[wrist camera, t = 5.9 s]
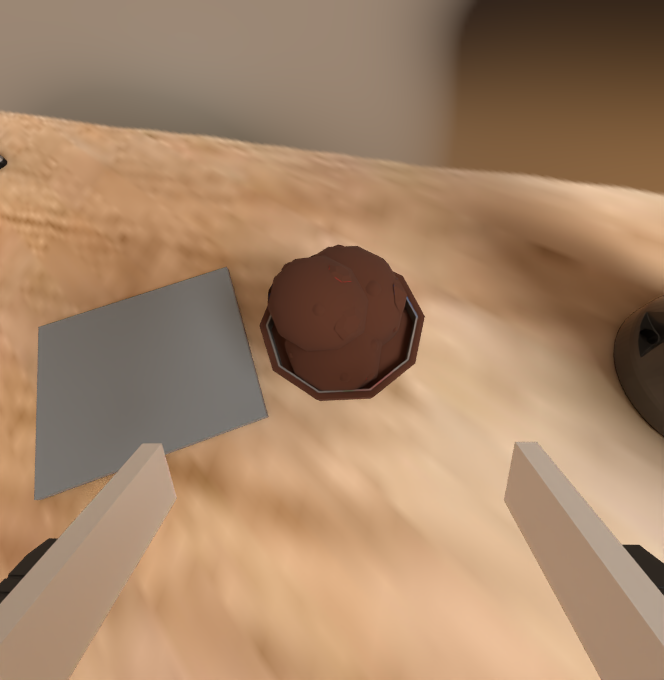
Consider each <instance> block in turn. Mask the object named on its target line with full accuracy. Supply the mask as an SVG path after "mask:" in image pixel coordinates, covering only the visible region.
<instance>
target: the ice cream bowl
mask: <svg viewBox="0 0 664 680" xmlns="http://www.w3.org/2000/svg"><path fill="white" fill-rule="evenodd" d="M424 317H425V316H424V314H423V312H422V310H421V309H420V307H419V305H418V303H417V301H416V300H415V298H414V296H413V294H412V292H411V290H410V289H409V287H408V285H407V283H406V281H405V279H404V278H403V276H401V275H399V274H397V273H395V272H393V271H392V269H391V268H390V266H389V264H388V263H387V262H386V261H385V260H384V259H383V258H381V257H379V256H377V255H375V254H373V253H371V252H368V251H366V250H364V249H362V248H360V247H358V246H346V247H344V246H342V245H336V246H334V247H327V248H326V249H324V250H323V251H321V252H320V253H318V254H316V255H313V256H311V257H309V258H301V259H295V260H293V261H292V262H289V263H287V264H285V265H284V266H283V268H282V271H281V272H280V273H279V274H278V275H277V276H275V277H274V280H273V284H272V286H271V287H270V289H269V292H268V306H267V309H266V311H265V314H264V316H263V318H262V321H261V323H260V329H261V332H262V335H263V339H264V342H265V345H266V349H267V352H268V355H269V359H270V362H271V365H272V369H273V371H275V372H276V373H278V374H279V375H281V376H282V377H284V378H285V379H287V380H288V381H290V382H291V383H293V384H294V385H296V386H297V387H299V388H300V389H302V390H303V391H305V392H306V393H308V394H309V395H311V396H312V397H314V398H315V399H317V400H319V401H327V400H349V399H370V398H372V397H374V396H375V395H376V394H378V393H379V392H380V391H381V390H383V389H384V388H385V387H386V386H388V385H389V384H390V383H391V382H392V381H394V380H395V379H396V378H397V377H399V376H400V375H401V374H402V373H404V372H405V371H406V370H407V369H409V368H410V367H411V366H412V365H414V364H415V361H416V356H417V351H418V346H419V342H420V337H421V332H422V327H423V322H424Z"/></svg>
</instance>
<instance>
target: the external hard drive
mask: <svg viewBox="0 0 664 680" xmlns="http://www.w3.org/2000/svg"><path fill="white" fill-rule="evenodd" d="M6 164H7V161H6V160H5V159H4V158H3V157H2V156H1V155H0V169H1V168H3V167H4V166H5V165H6Z"/></svg>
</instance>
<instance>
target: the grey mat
mask: <svg viewBox="0 0 664 680" xmlns="http://www.w3.org/2000/svg"><path fill="white" fill-rule="evenodd" d="M267 417H268V414H267V410H266V406H265V403H264V399H263V395H262V392H261V388H260V384H259V381H258V377H257V373H256V370H255V366H254V362H253V358H252V355H251V351H250V347H249V344H248V340H247V336H246V333H245V329H244V325H243V322H242V318H241V314H240V311H239V307H238V303H237V300H236V296H235V292H234V288H233V285H232V281H231V277H230V274H229V270H228V268H227V267H225V268H221V269H218V270H215V271H212V272H209V273H206V274H203V275H200V276H197V277H193V278H190V279H187V280H184V281H181V282H178V283H175V284H172V285H168V286H165V287H162V288H159V289H156V290H153V291H150V292H147V293H144V294H140V295H137V296H134V297H131V298H128V299H125V300H122V301H119V302H116V303H112V304H109V305H106V306H103V307H100V308H97V309H94V310H91V311H88V312H84V313H81V314H78V315H75V316H72V317H69V318H66V319H63V320H60V321H56V322H53V323H50V324H47V325H44V326H41V327H39V333H38V373H37V413H36V453H35V493H34V500H42V499H44V498H47V497H50V496H53V495H55V494H58V493H61V492H64V491H66V490H69V489H72V488H75V487H77V486H80V485H83V484H86V483H88V482H91V481H94V480H97V479H99V478H102V477H105V476H108V475H110V474H113V473H116V472H118V471H119V469H120V468H121V467H122V466H123V465H124V464H125V463H126V462H127V460H128V459H129V458H130V457H131V456H132V455H133V454H134V452H135V451H136V450H137V449H138V448H139V447H140V446H141V445H142V443H162V446H163V449H164V453H165V454H168V453H171V452H174V451H176V450H179V449H182V448H185V447H187V446H190V445H193V444H196V443H198V442H201V441H204V440H207V439H209V438H212V437H215V436H218V435H220V434H223V433H226V432H229V431H231V430H234V429H237V428H240V427H242V426H245V425H248V424H251V423H253V422H256V421H259V420H261V419H264V418H267Z"/></svg>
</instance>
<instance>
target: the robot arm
mask: <svg viewBox="0 0 664 680" xmlns="http://www.w3.org/2000/svg"><path fill="white" fill-rule="evenodd" d="M614 360H615V366H616V371H617V374H618V377H619V380H620V382H621V385H622V387H623V389H624V391H625V393H626V394H627V396H628V398H629V399H630V401H631V402H632V404H633V405H634V407H635V408H636V409H637V410H638V412H639V413H640V414H641V415H642V416H643V417H644V419H645V420H646V421H647V422H648V423H649V424H650V425H651V426H652V427H653V428H655V429H656V430H657V431H658V432H659V433H660V434H662V435H663V436H664V295H663V296H661V297H659V298H657V299H655V300H653V301H652V302H650V303H648V304H647V305H645V306H643V307H642V308H640V309H639V310H637V311H636V312H634V313H633V314H631V315H630V316H629V317H628V318H627V319H626V320H625V322H624V323H623V324H622V326H621V327H620V329H619V331H618V334H617V336H616V340H615V346H614ZM176 499H177V497H176V493H175V490H174V486H173V482H172V479H171V475H170V471H169V468H168V464H167V460H166V457H165V453H164V449H163V446H162V443H142V445H141V446H140V447H139V448H138V449H137V450H136V451H135V452H134V454H133V455H132V456H131V457H130V458H129V459H128V460H127V462H126V463H125V464H124V465H123V466H122V467H121V468H120V469H119V471H118V472H117V473H116V474H115V475H114V476H113V477H112V478H111V480H110V481H109V482H108V483H107V484H106V485H105V486H104V487H103V489H102V490H101V491H100V492H99V493H98V494H97V495H96V496H95V498H94V499H93V500H92V501H91V502H90V503H89V504H88V505H87V507H86V508H85V509H84V510H83V511H82V512H81V513H80V514H79V516H78V517H77V518H76V519H75V520H74V521H73V522H72V523H71V525H70V526H69V527H68V528H67V529H66V530H65V531H64V533H63V534H62V535H61V536H60V537H59V538H58V539H52V538H49V539H48V540H46V541H45V542H44V543H42V544H41V545H40V546H38V547H37V548H36V549H34V550H33V551H32V552H30V553H29V554H27V555H26V556H25V557H24V559H23V560H22V561H21V562H20V563H19V564H18V565H17V566H16V567H15V568H14V569H13V570H12V571H11V572H10V573H9V575H8V578H7V579H4V580H3V581H2V582H1V583H0V680H69V678H70V676H71V675H72V673H73V671H74V670H75V668H76V666H77V665H78V663H79V661H80V660H81V658H82V656H83V655H84V653H85V651H86V650H87V648H88V646H89V645H90V643H91V641H92V640H93V638H94V636H95V634H96V633H97V631H98V629H99V628H100V626H101V624H102V623H103V621H104V619H105V618H106V616H107V614H108V613H109V611H110V609H111V608H112V606H113V604H114V603H115V601H116V599H117V598H118V596H119V594H120V593H121V591H122V589H123V588H124V586H125V584H126V583H127V581H128V579H129V578H130V576H131V574H132V573H133V571H134V569H135V568H136V566H137V564H138V563H139V561H140V559H141V557H142V556H143V554H144V552H145V551H146V549H147V547H148V546H149V544H150V542H151V541H152V539H153V537H154V536H155V534H156V532H157V531H158V529H159V527H160V526H161V524H162V522H163V521H164V519H165V517H166V516H167V514H168V512H169V511H170V509H171V507H172V506H173V504H174V502H175V501H176ZM504 501H505V503H506V505H507V507H508V509H509V510H510V512H511V514H512V516H513V518H514V520H515V521H516V523H517V525H518V527H519V529H520V531H521V532H522V534H523V536H524V538H525V540H526V542H527V544H528V545H529V547H530V549H531V551H532V553H533V555H534V556H535V558H536V560H537V562H538V564H539V566H540V568H541V569H542V571H543V573H544V575H545V577H546V579H547V580H548V582H549V584H550V586H551V588H552V590H553V592H554V593H555V595H556V597H557V599H558V601H559V603H560V604H561V606H562V608H563V610H564V612H565V614H566V616H567V617H568V619H569V621H570V623H571V625H572V627H573V628H574V630H575V632H576V634H577V636H578V638H579V640H580V641H581V643H582V645H583V647H584V649H585V651H586V652H587V654H588V656H589V658H590V660H591V662H592V663H593V665H594V667H595V669H596V671H597V673H598V675H599V676H600V678H601V680H664V563H662V562H661V561H660V560H658V559H657V558H656V557H654V556H653V555H652V554H650V553H649V552H648V551H646V550H645V549H644V548H643V547H641V546H640V545H622V544H621V543H620V542H619V541H618V540H617V538H616V537H615V536H614V535H613V533H612V532H611V531H610V530H609V529H608V527H607V526H606V525H605V524H604V523H603V521H602V520H601V519H600V518H599V516H598V515H597V514H596V513H595V512H594V510H593V509H592V508H591V507H590V506H589V504H588V503H587V502H586V501H585V499H584V498H583V497H582V496H581V495H580V493H579V492H578V491H577V490H576V489H575V487H574V486H573V485H572V484H571V482H570V481H569V480H568V479H567V478H566V476H565V475H564V474H563V473H562V472H561V470H560V469H559V468H558V467H557V465H556V464H555V463H554V462H553V461H552V459H551V458H550V457H549V456H548V455H547V453H546V452H545V451H544V450H543V448H542V447H541V446H540V445H539V444H538V442H515V445H514V451H513V456H512V461H511V466H510V471H509V477H508V482H507V487H506V492H505V497H504Z"/></svg>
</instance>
